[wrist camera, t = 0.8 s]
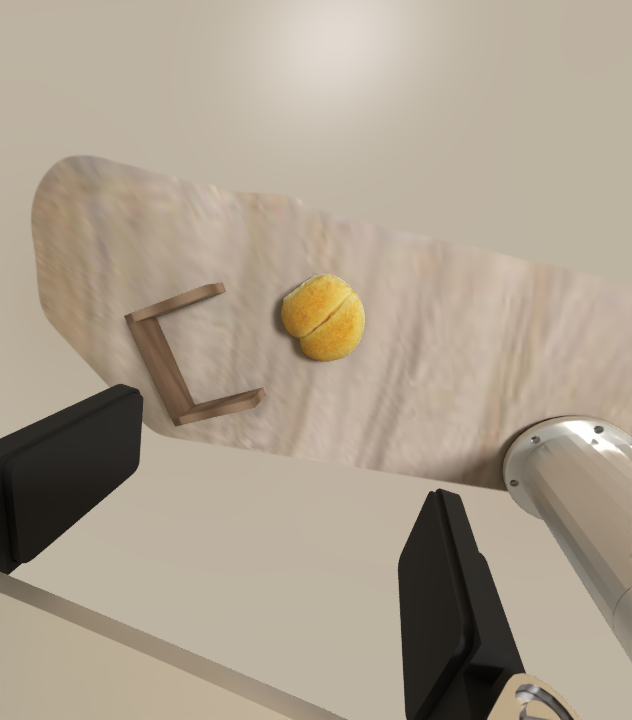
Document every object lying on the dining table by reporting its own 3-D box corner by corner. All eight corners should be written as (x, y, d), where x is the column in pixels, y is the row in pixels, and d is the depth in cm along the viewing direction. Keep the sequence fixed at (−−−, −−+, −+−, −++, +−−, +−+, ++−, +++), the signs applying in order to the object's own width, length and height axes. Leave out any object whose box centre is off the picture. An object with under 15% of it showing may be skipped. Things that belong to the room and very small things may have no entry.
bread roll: (322, 369, 37) (315, 381, 33) (274, 306, 36) (261, 311, 32) (383, 328, 34) (382, 337, 30) (333, 259, 33) (326, 258, 29)
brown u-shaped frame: (222, 282, 36) (206, 284, 33) (265, 395, 39) (254, 407, 36) (146, 311, 39) (124, 315, 36) (191, 413, 42) (175, 426, 39)
